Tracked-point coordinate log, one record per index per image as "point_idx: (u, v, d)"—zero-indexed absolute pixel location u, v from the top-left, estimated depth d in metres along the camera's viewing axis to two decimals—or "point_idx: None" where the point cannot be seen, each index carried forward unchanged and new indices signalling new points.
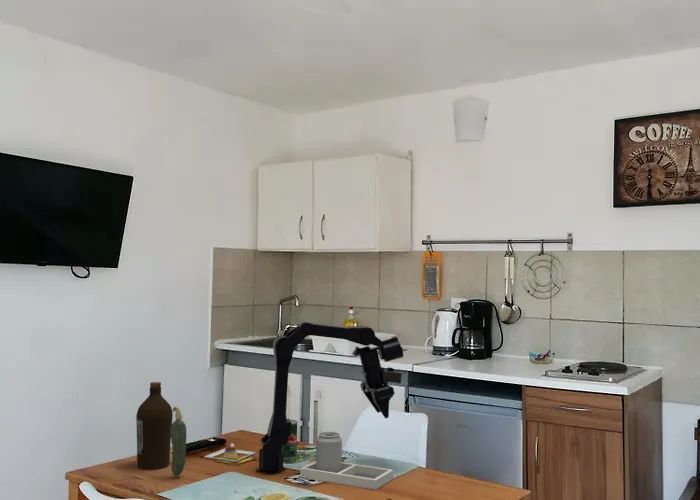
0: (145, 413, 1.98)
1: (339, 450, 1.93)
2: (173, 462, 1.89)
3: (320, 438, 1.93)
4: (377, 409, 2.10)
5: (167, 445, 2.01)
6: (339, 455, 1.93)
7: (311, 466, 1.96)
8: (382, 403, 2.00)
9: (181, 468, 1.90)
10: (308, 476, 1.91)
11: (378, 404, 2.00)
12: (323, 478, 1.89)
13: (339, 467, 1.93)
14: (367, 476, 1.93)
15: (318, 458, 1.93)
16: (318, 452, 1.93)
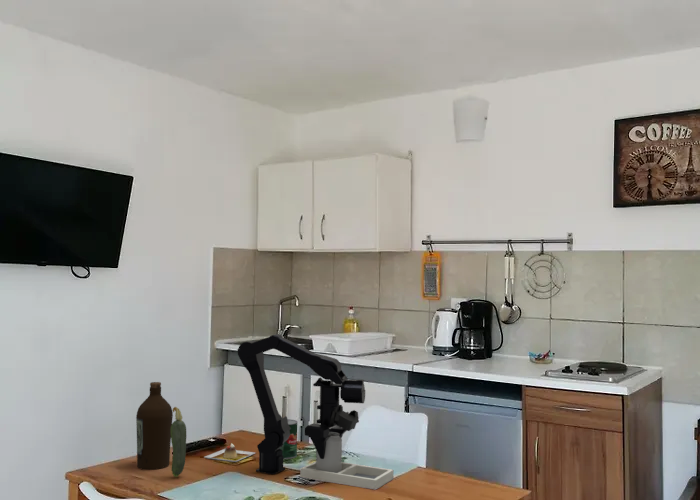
0: (145, 413, 1.98)
1: (339, 450, 1.93)
2: (173, 462, 1.89)
3: None
4: None
5: (167, 445, 2.01)
6: (339, 455, 1.93)
7: (311, 466, 1.96)
8: (318, 442, 1.91)
9: (181, 468, 1.90)
10: (308, 476, 1.91)
11: (313, 441, 1.91)
12: (323, 478, 1.89)
13: (339, 467, 1.93)
14: (367, 476, 1.93)
15: (318, 458, 1.93)
16: None
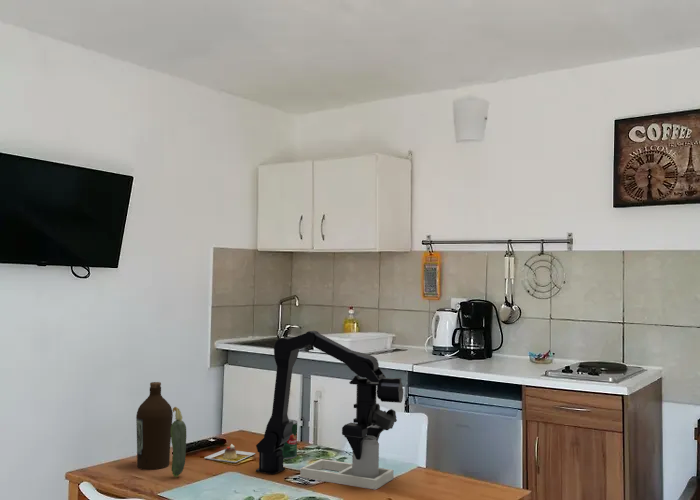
0: (145, 413, 1.98)
1: (376, 454, 1.88)
2: (173, 462, 1.89)
3: None
4: None
5: (167, 445, 2.01)
6: (376, 459, 1.88)
7: (311, 466, 1.96)
8: (354, 442, 1.85)
9: (181, 468, 1.90)
10: (308, 476, 1.91)
11: (349, 441, 1.85)
12: (323, 478, 1.89)
13: (376, 472, 1.87)
14: None
15: (355, 462, 1.87)
16: None
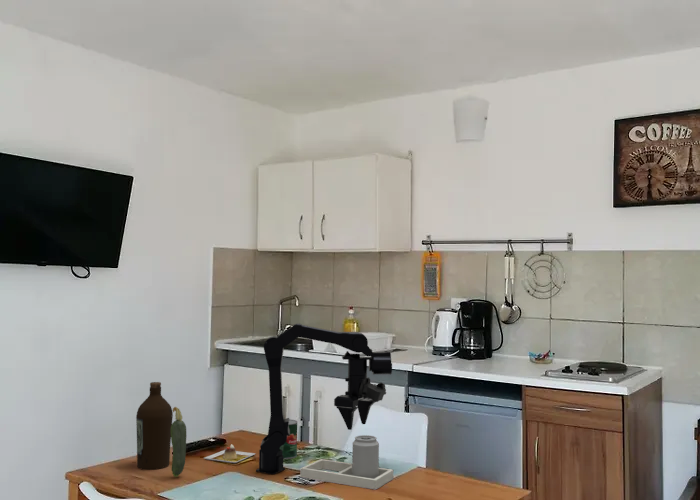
0: (145, 413, 1.98)
1: (376, 454, 1.88)
2: (173, 462, 1.89)
3: (357, 442, 1.88)
4: (362, 420, 2.04)
5: (167, 445, 2.01)
6: (376, 459, 1.87)
7: (311, 466, 1.96)
8: (346, 413, 1.96)
9: (181, 468, 1.90)
10: (308, 476, 1.91)
11: (341, 412, 1.96)
12: (323, 478, 1.89)
13: (376, 472, 1.87)
14: None
15: (355, 462, 1.87)
16: (355, 456, 1.87)
